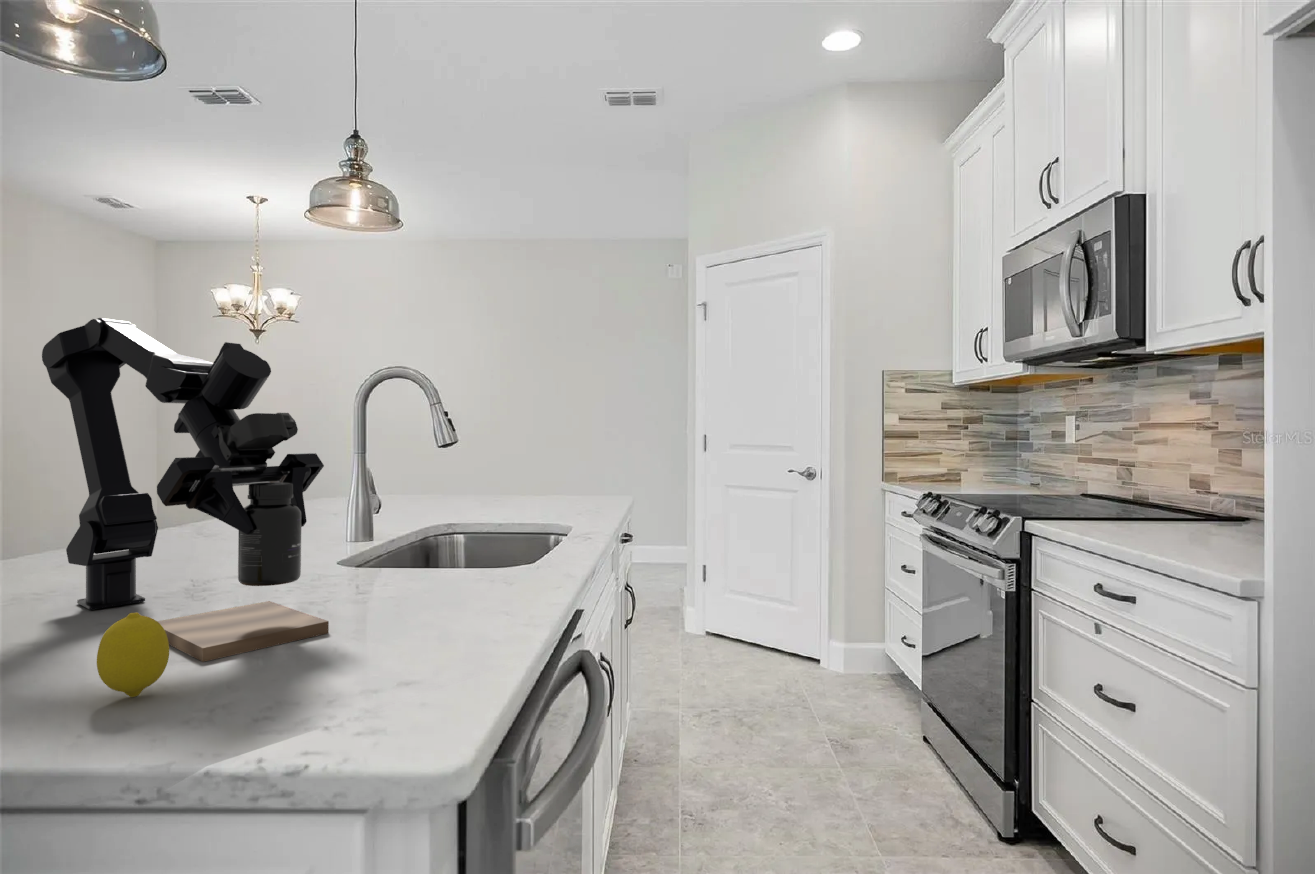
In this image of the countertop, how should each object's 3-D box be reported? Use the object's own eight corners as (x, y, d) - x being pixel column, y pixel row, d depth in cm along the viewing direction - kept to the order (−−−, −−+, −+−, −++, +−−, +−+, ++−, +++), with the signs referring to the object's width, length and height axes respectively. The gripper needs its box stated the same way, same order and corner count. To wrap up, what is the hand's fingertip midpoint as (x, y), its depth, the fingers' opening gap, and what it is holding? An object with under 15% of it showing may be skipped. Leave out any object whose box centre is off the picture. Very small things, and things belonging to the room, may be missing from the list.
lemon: (131, 710, 65) (131, 622, 65) (81, 705, 66) (80, 618, 66) (183, 688, 70) (183, 607, 70) (136, 684, 71) (135, 603, 71)
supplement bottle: (308, 582, 88) (309, 484, 88) (245, 590, 83) (246, 486, 83) (291, 573, 93) (292, 480, 93) (231, 580, 88) (232, 482, 88)
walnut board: (150, 634, 88) (149, 622, 88) (269, 611, 99) (269, 601, 99) (202, 662, 78) (202, 648, 78) (328, 633, 89) (328, 621, 89)
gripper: (172, 386, 81) (235, 490, 76) (314, 393, 98) (373, 479, 93) (130, 453, 84) (188, 556, 80) (275, 449, 101) (329, 534, 97)
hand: (278, 528), depth 87 cm, fingers closed on supplement bottle, 7 cm apart
